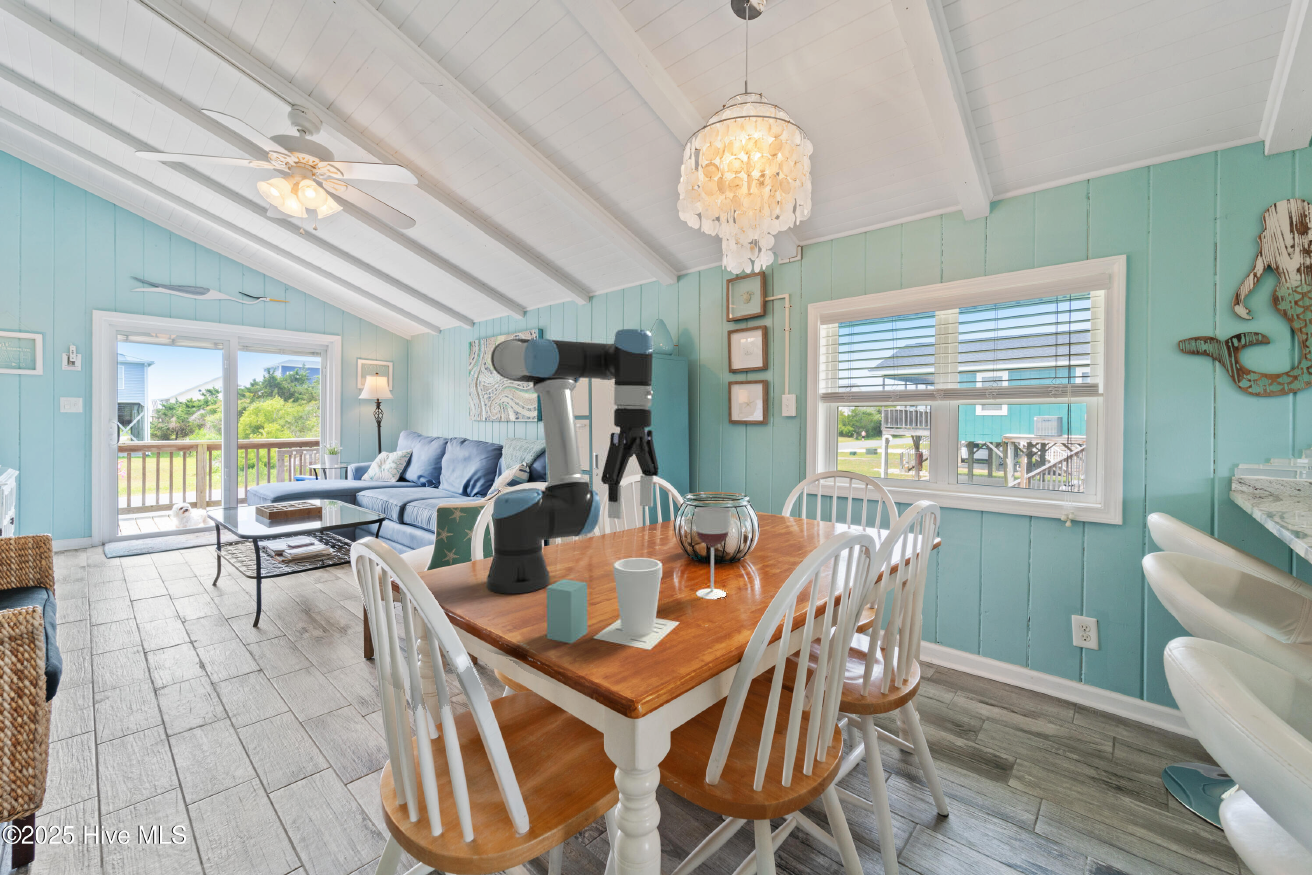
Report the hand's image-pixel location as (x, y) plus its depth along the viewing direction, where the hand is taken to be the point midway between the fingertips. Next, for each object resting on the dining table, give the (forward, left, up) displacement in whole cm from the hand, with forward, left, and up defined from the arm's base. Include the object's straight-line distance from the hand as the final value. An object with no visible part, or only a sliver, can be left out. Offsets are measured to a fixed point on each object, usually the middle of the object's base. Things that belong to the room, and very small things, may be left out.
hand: (631, 511), depth 111 cm
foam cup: (+3, -4, -23) cm, 23 cm away
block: (-8, -12, -23) cm, 27 cm away
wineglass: (+9, +23, -23) cm, 34 cm away
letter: (+3, -4, -23) cm, 23 cm away
